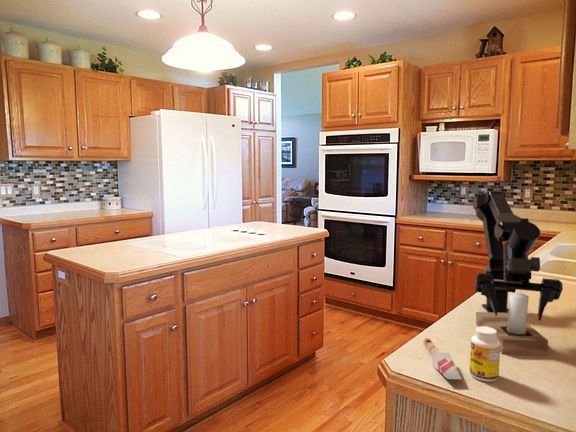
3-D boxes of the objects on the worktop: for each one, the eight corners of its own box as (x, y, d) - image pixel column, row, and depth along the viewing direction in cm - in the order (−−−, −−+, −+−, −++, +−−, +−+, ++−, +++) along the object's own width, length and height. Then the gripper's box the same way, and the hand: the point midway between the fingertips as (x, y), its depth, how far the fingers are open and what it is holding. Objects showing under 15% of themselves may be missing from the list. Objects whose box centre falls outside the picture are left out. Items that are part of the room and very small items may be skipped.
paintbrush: (444, 371, 87) (419, 335, 107) (444, 385, 87) (419, 346, 107) (464, 372, 87) (435, 335, 106) (464, 385, 87) (435, 346, 107)
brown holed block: (475, 324, 119) (476, 312, 118) (513, 325, 118) (514, 312, 117) (502, 353, 101) (503, 339, 100) (547, 354, 100) (548, 340, 100)
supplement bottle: (464, 371, 93) (466, 325, 92) (487, 368, 94) (489, 323, 93) (480, 384, 88) (482, 336, 86) (504, 381, 89) (507, 333, 87)
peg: (503, 341, 108) (506, 292, 106) (520, 341, 107) (524, 293, 106) (510, 348, 104) (513, 298, 102) (528, 349, 103) (532, 298, 101)
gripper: (477, 241, 109) (476, 297, 101) (564, 246, 102) (570, 306, 94) (476, 265, 118) (474, 317, 109) (555, 271, 110) (560, 328, 102)
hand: (517, 317), depth 103 cm, fingers open, 9 cm apart
